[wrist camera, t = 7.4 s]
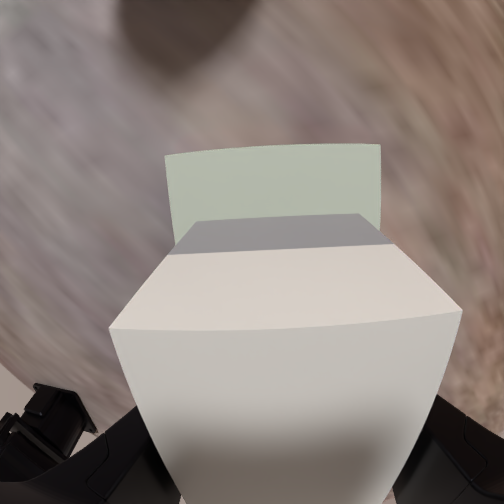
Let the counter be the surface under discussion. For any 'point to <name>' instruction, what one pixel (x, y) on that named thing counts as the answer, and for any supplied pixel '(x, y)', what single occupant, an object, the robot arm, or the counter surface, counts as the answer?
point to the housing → (285, 359)
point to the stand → (274, 183)
